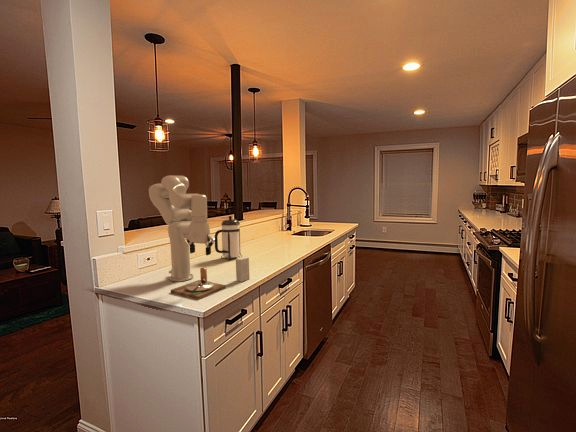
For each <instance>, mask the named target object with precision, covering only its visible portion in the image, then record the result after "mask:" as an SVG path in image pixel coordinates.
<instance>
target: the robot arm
mask: <svg viewBox="0 0 576 432" xmlns="http://www.w3.org/2000/svg"><path fill="white" fill-rule="evenodd" d="M189 187H190V181H189V179H188V177H186V176H185V175H166V176H164V177H162V179H161V181H160V183H155V184H152V185H150V186H149V188H148V196H149V199H150V201H151V203H152V205H153V206H154V207H155V208H156V209H157V210H158V212H159V214H160V215H161V217H162V219H163V221H164V222H165V224H166V225H167V226H168V227H167V233H168V237H169V244H170V256H171V257H170V260H171V269H170V270H169V271H168V274H170V276H169V279H168V280H169V281H171V282H176V283H177V282H178V283H179V282H185V281H190V280H192V279H193V278H194V274H192V273H191V261H190V254H193V253H194V254H195V252H196V245H195V244H204V245H205V246H206V247H205V256H209V255H211V254H212V247H213V246H214V245H215V236H212V235H211V231H210V230H211V229H210V224H209V222H208V197H207V196H206V194H200V193H187V190H188V189H189Z"/></svg>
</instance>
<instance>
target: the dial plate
mask: <svg viewBox="0 0 576 432" xmlns="http://www.w3.org/2000/svg"><path fill="white" fill-rule="evenodd" d="M199 281H201V279H198V280H194V281H193V282H189V283H186V284H183V285H180V286H177V287H175V288H172V289H170V294H174V295H177V296H183V297H185V298H186V297H187V298H191V299H196V300H202V299H203V298H207V297H208V296H211V295H213V294H216V293H218V292H222V291H223V290H225V289H227V285H226V284H221V283H216V282H213V283H214V287H213V288H212V289H210V290H206V291H200V292H192V291H188V290H187V289H186V286H187V285H188V284H190V283H194V282H199Z"/></svg>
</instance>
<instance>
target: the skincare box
mask: <svg viewBox="0 0 576 432" xmlns="http://www.w3.org/2000/svg"><path fill="white" fill-rule="evenodd" d="M240 257H241V256H240ZM240 257H238V258H237V257H236V258H235V275H236V276H235V277H236V281H237V282H241V283H242V282H245V281H248V280H250V259H249V257H247V256H242V257H241V258H240Z"/></svg>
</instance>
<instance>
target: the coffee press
mask: <svg viewBox="0 0 576 432" xmlns="http://www.w3.org/2000/svg"><path fill="white" fill-rule="evenodd" d="M240 227H241V223H240V221H239V220H238V219H236V218H235V219H234V218H233V217H232V215H229V216H228V218H227V219H224V220H223V221H221V229H218V230H217V231H216V232H215V233H214V238H215V241H214V250H215V251H216V252H217V253H218V254H222V255H221V257H220V259H224V258H227V259H228V261H231V259H232V258H233V259H234V258H237V257H238V258H241V257H243V255H242V254H241V232H240V231H241V230H240V229H241V228H240ZM220 233H221V242H222V243H221V244H222V245H221V247H222V248H221V250H219V245H218V244H219V243H218V242H219V241H218V236H219V234H220Z"/></svg>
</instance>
